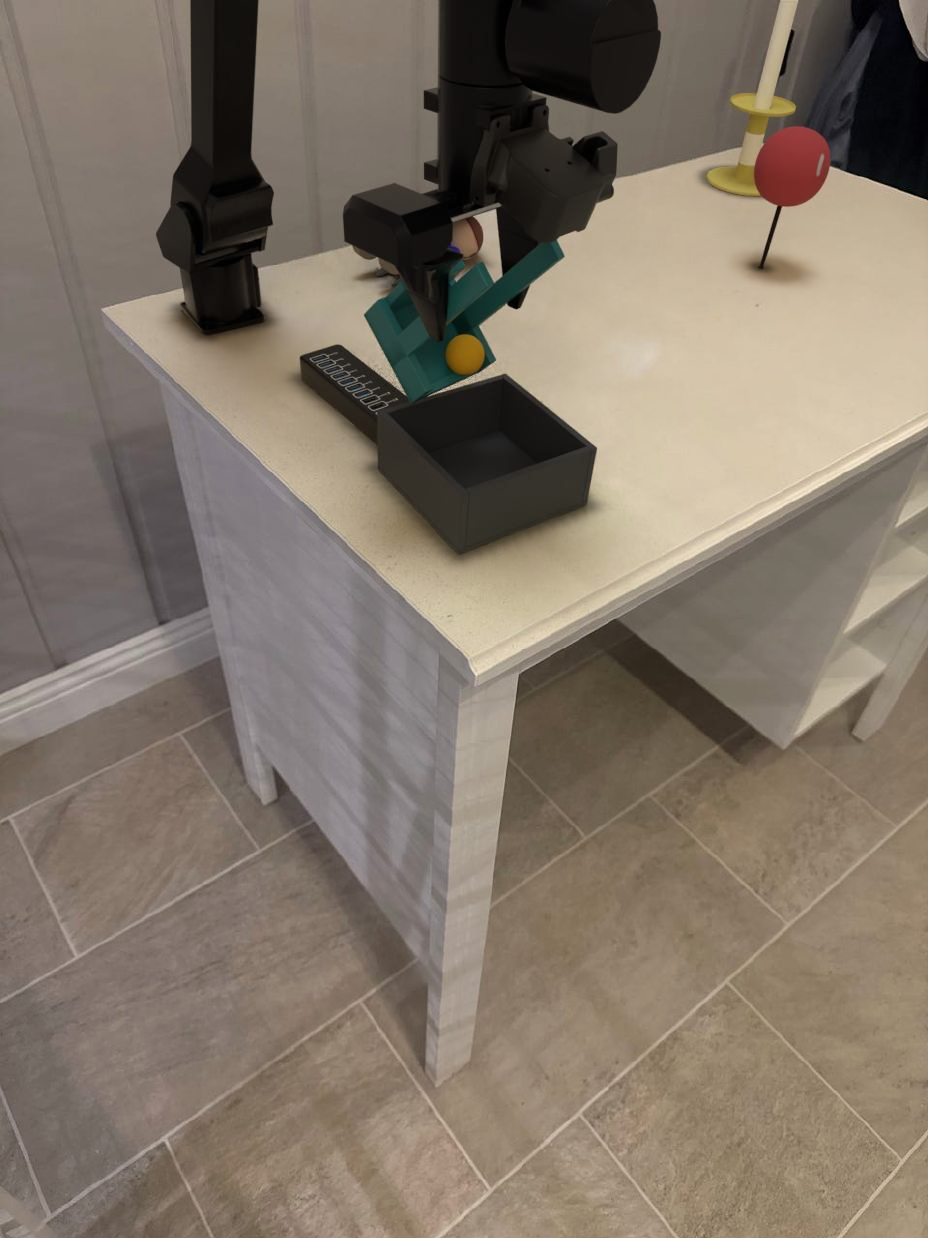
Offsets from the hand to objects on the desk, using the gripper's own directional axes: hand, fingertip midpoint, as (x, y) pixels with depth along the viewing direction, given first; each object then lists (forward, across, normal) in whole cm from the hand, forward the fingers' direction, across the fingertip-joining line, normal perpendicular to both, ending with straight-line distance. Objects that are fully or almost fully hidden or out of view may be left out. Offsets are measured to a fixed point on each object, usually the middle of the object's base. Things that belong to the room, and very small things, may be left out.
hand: (476, 323), depth 65 cm
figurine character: (+12, +23, +31) cm, 41 cm away
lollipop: (+13, +55, +8) cm, 57 cm away
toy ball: (+4, +1, +2) cm, 5 cm away
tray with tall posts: (+4, 0, +6) cm, 7 cm away
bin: (+14, 0, -1) cm, 14 cm away
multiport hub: (+13, 0, +14) cm, 19 cm away
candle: (+13, +76, +25) cm, 81 cm away
